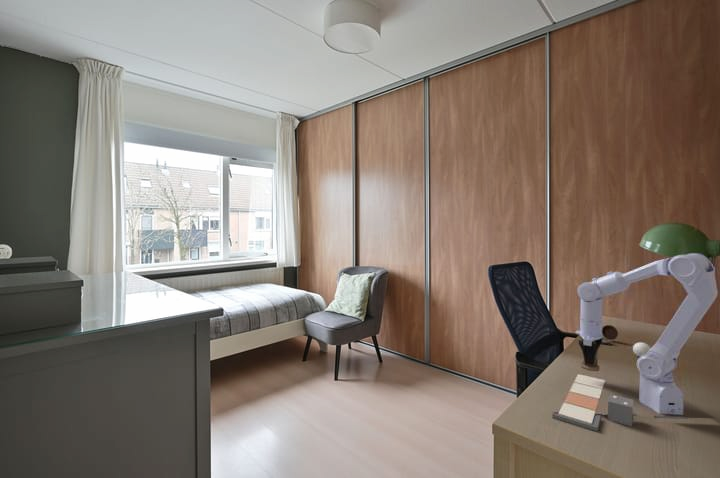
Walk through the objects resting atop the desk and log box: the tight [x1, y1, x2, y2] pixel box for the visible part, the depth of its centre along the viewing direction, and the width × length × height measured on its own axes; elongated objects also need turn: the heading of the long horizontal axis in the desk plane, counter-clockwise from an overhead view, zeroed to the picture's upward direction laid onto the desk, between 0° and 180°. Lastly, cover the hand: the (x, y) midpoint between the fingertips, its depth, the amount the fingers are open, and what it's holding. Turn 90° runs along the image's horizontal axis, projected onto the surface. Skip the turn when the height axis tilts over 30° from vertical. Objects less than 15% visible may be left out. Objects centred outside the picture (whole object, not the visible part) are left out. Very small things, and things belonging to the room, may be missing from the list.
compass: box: [600, 324, 619, 346], centre depth 151 cm, size 8×8×7 cm
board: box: [551, 374, 606, 432], centre depth 103 cm, size 33×10×1 cm, turn 140°
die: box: [607, 394, 634, 428], centre depth 92 cm, size 5×5×5 cm
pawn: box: [580, 341, 600, 372], centre depth 112 cm, size 5×5×9 cm
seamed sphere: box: [628, 342, 652, 358], centre depth 136 cm, size 8×6×6 cm
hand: (590, 362), depth 112 cm, fingers closed on pawn, 4 cm apart
